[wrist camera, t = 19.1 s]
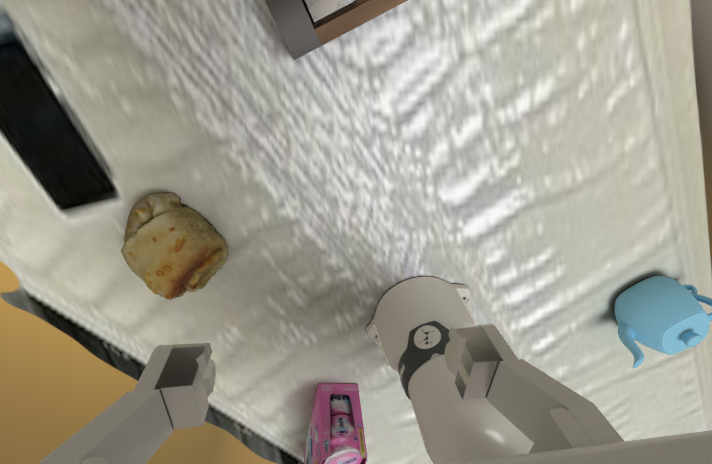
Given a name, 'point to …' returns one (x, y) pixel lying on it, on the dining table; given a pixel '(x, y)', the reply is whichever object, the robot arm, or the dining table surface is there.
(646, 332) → the teapot
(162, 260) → the pastry
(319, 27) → the track
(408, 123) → the dining table surface
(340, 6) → the slider
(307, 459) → the gum box
